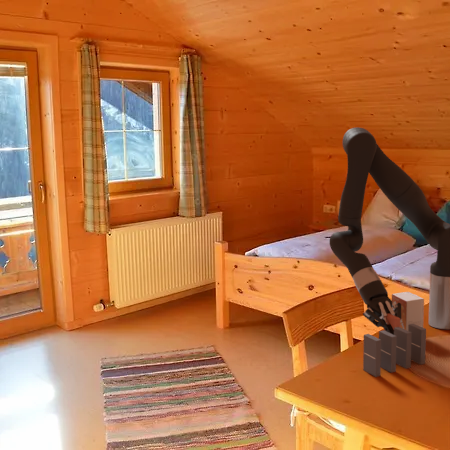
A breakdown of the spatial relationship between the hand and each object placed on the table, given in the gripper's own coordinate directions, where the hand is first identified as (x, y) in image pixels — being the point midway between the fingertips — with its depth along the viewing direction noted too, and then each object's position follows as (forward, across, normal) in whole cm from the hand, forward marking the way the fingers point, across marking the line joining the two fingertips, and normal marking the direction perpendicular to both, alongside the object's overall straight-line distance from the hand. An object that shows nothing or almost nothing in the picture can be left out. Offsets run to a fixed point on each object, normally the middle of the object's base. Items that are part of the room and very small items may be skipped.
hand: (396, 336), depth 166 cm
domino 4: (+9, -5, -2) cm, 10 cm away
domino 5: (+9, 0, -2) cm, 9 cm away
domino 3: (+9, -10, -2) cm, 14 cm away
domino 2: (+2, 0, +5) cm, 5 cm away
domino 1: (+9, -16, -2) cm, 18 cm away
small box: (-2, +11, +8) cm, 14 cm away
